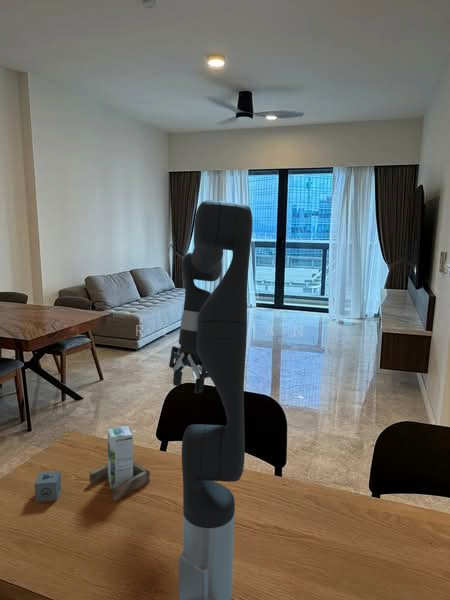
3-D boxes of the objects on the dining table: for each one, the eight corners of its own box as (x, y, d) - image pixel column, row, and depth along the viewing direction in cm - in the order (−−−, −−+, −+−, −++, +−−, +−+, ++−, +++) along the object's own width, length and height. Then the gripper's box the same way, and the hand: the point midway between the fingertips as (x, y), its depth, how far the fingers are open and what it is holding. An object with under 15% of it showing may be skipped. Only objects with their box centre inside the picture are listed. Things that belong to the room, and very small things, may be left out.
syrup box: (107, 479, 115) (106, 428, 113) (129, 474, 118) (128, 424, 115) (111, 491, 110) (110, 438, 108) (134, 485, 113) (133, 434, 110)
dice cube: (40, 490, 110) (39, 472, 109) (61, 488, 111) (60, 470, 110) (35, 502, 105) (34, 483, 104) (57, 500, 106) (56, 482, 105)
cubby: (115, 501, 106) (115, 489, 106) (89, 483, 113) (89, 473, 113) (149, 481, 115) (149, 471, 114) (123, 466, 122) (123, 456, 121)
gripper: (166, 324, 116) (159, 384, 116) (202, 331, 106) (195, 396, 107) (187, 325, 122) (180, 382, 122) (223, 332, 112) (216, 394, 112)
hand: (187, 389), depth 114 cm, fingers open, 8 cm apart
